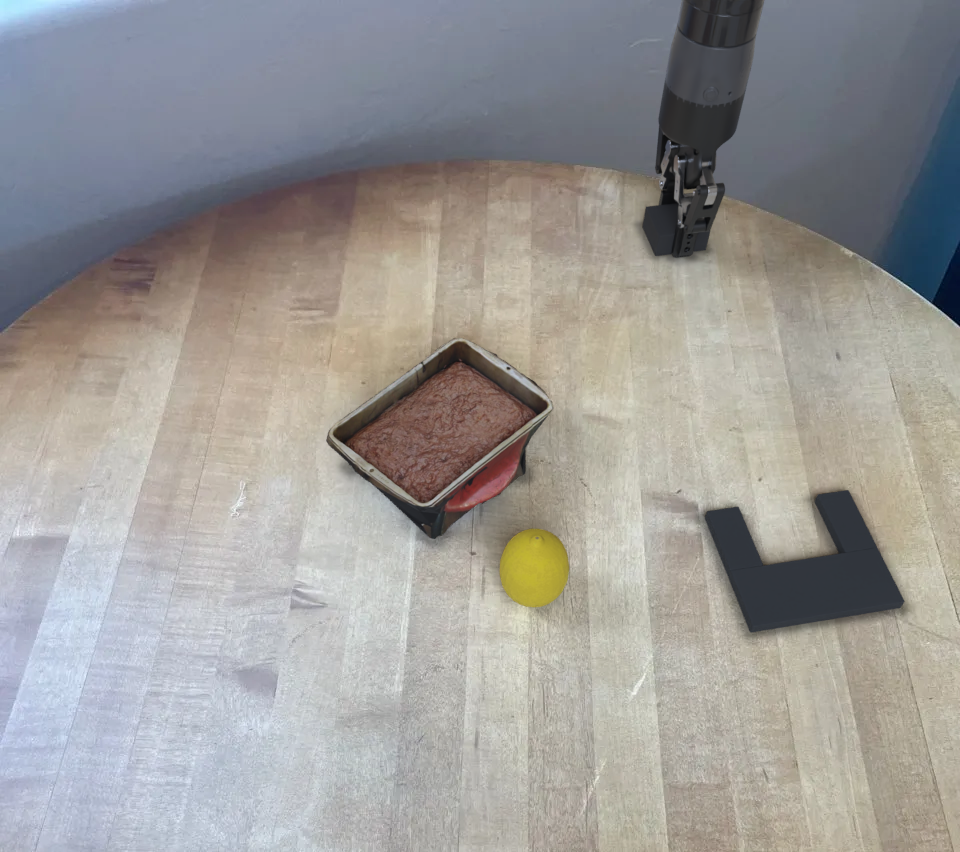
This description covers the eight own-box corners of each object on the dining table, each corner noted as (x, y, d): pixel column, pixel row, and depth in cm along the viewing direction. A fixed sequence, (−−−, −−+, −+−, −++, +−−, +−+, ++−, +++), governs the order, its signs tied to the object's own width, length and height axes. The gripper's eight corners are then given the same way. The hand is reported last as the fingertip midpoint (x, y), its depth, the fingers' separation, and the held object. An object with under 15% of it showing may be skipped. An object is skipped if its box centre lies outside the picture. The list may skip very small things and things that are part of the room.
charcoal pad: (843, 500, 88) (848, 489, 87) (898, 611, 82) (905, 601, 81) (703, 521, 87) (706, 510, 86) (748, 636, 81) (753, 626, 79)
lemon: (574, 584, 83) (584, 524, 76) (549, 634, 80) (556, 577, 74) (514, 561, 84) (518, 500, 78) (487, 610, 82) (489, 552, 75)
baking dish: (558, 488, 91) (574, 397, 84) (409, 575, 82) (412, 482, 75) (453, 412, 97) (459, 321, 90) (305, 485, 89) (298, 391, 81)
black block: (690, 225, 108) (696, 200, 106) (704, 254, 106) (710, 230, 103) (641, 231, 108) (645, 206, 105) (654, 260, 105) (658, 236, 103)
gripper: (771, 118, 89) (728, 278, 103) (720, 34, 96) (687, 193, 110) (690, 127, 88) (658, 286, 102) (645, 41, 95) (621, 201, 110)
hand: (673, 237), depth 106 cm, fingers closed on black block, 5 cm apart
